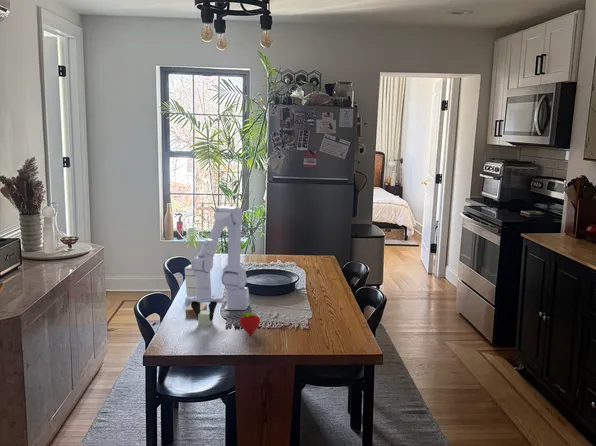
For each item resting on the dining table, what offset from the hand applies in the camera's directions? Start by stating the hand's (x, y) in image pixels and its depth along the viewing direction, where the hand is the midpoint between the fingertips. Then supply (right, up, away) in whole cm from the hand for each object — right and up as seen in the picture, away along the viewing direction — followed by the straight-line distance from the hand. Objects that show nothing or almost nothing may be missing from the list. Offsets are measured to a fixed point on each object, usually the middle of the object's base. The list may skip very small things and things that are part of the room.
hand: (205, 319), depth 203 cm
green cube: (0, -1, 0) cm, 1 cm away
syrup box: (-11, +4, +34) cm, 36 cm away
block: (-6, 0, +11) cm, 12 cm away
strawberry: (+19, -3, -12) cm, 23 cm away
